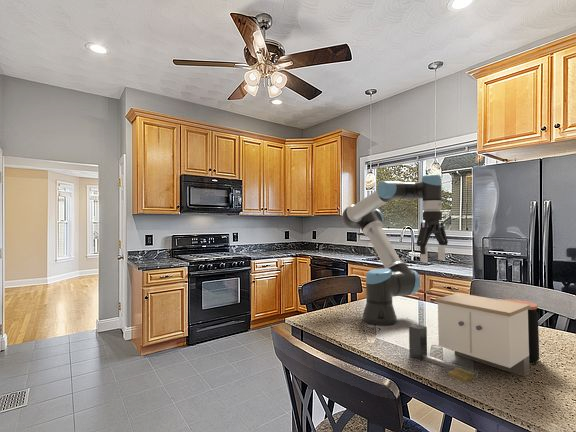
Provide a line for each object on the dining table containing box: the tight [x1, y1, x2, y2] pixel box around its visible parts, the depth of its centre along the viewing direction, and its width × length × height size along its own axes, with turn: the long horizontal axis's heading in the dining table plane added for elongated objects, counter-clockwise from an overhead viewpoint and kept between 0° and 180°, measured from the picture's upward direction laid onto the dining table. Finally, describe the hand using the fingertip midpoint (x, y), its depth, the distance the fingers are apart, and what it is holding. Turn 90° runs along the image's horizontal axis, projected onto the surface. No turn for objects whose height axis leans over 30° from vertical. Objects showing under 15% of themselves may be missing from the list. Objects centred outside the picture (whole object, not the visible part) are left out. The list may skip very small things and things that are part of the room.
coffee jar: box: [503, 298, 540, 365], centre depth 105 cm, size 11×11×18 cm
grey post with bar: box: [408, 323, 479, 379], centre depth 100 cm, size 20×4×10 cm, turn 38°
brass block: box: [447, 368, 475, 384], centre depth 92 cm, size 5×5×2 cm
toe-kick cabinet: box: [435, 292, 530, 377], centre depth 98 cm, size 21×16×20 cm
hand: (433, 261), depth 135 cm, fingers open, 13 cm apart
